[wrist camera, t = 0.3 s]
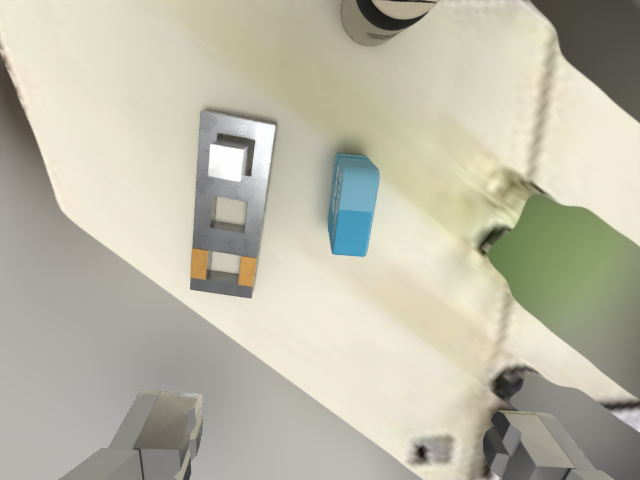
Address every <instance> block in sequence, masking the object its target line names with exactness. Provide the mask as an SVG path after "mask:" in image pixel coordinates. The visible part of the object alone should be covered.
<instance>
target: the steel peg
mask: <svg viewBox="0 0 640 480" xmlns="http://www.w3.org/2000/svg"><path fill="white" fill-rule="evenodd" d="M253 143H254V141H253V140H248V139H242V138H237V137H232V136H227V135H226V136H224V137H222V138H220V139H219V140H217V141H215V142H213V143H211V144H210V156H209V170H208V176H210V177H216V178H221V179H227V180H232V181H238V182H240V181H241V180H242V178H243V177H244V176H245V174H246V173H247V172H248V170H249V169H250V168H251V160H252V151H253Z"/></svg>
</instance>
